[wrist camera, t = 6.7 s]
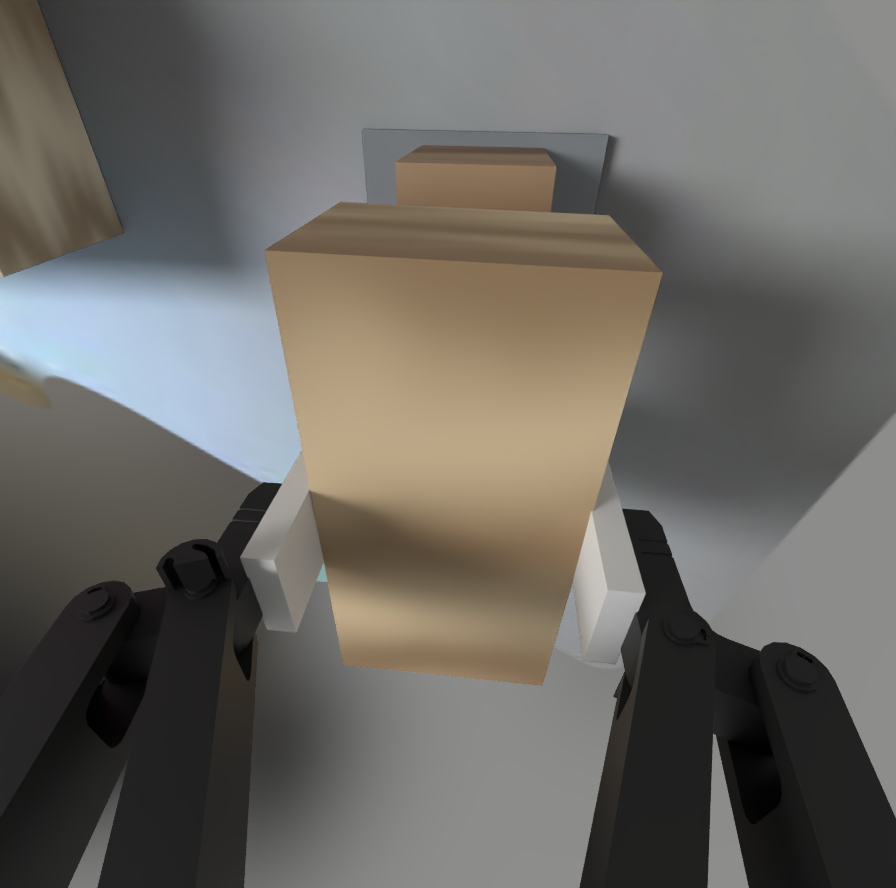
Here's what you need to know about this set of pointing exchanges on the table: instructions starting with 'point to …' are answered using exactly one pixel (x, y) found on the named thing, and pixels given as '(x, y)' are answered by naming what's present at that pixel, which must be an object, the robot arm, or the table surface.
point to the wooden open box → (43, 151)
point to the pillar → (476, 178)
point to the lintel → (456, 419)
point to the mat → (568, 151)
